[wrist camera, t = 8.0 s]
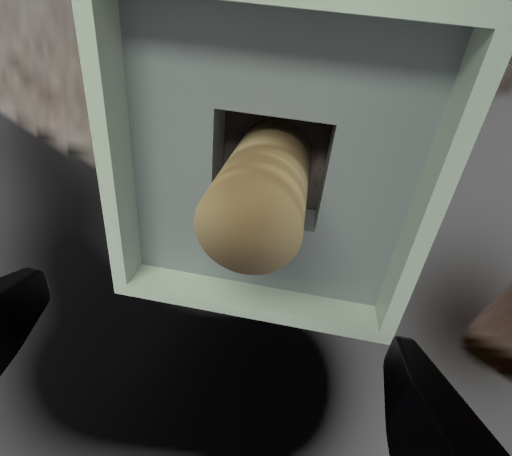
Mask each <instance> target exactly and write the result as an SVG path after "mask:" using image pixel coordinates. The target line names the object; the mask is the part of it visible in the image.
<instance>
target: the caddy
mask: <svg viewBox="0 0 512 456" xmlns="http://www.w3.org/2000/svg"><path fill="white" fill-rule="evenodd" d="M71 1H72V8H73V15H74V21H75V28H76V35H77V42H78V48H79V55H80V62H81V69H82V76H83V82H84V89H85V96H86V103H87V109H88V116H89V123H90V130H91V136H92V143H93V150H94V157H95V164H96V170H97V177H98V184H99V191H100V197H101V204H102V210H103V218H104V224H105V231H106V237H107V245H108V252H109V258H110V265H111V272H112V279H113V285H114V292H115V293H117V294H122V295H128V296H133V297H138V298H143V299H148V300H154V301H159V302H164V303H169V304H175V305H180V306H186V307H190V308H196V309H201V310H206V311H212V312H217V313H223V314H227V315H233V316H238V317H243V318H248V319H255V320H259V321H265V322H270V323H275V324H280V325H285V326H291V327H297V328H301V329H307V330H312V331H317V332H322V333H328V334H333V335H338V336H343V337H349V338H354V339H360V340H365V341H370V342H375V343H380V344H386V345H390V344H391V342H392V339H393V338H394V335H395V333H396V330H397V328H398V326H399V323H400V321H401V319H402V316H403V314H404V311H405V309H406V307H407V304H408V302H409V300H410V297H411V295H412V292H413V290H414V288H415V285H416V283H417V280H418V278H419V276H420V273H421V271H422V268H423V266H424V264H425V261H426V259H427V257H428V254H429V251H430V249H431V247H432V245H433V242H434V240H435V237H436V235H437V233H438V230H439V228H440V225H441V223H442V221H443V218H444V216H445V213H446V211H447V209H448V206H449V204H450V202H451V199H452V197H453V194H454V192H455V189H456V187H457V185H458V182H459V180H460V178H461V175H462V173H463V170H464V168H465V166H466V163H467V161H468V158H469V156H470V154H471V151H472V149H473V147H474V144H475V142H476V139H477V137H478V135H479V132H480V130H481V128H482V125H483V123H484V120H485V118H486V115H487V113H488V111H489V108H490V106H491V104H492V101H493V99H494V96H495V94H496V92H497V89H498V87H499V84H500V82H501V80H502V77H503V75H504V73H505V70H506V68H507V65H508V63H509V61H510V58H511V56H512V0H71ZM226 110H228V111H235V112H243V113H250V114H258V115H265V116H272V117H280V118H287V119H295V120H302V121H309V122H317V123H324V124H332V125H333V126H332V131H331V136H330V141H329V146H328V151H327V156H326V161H325V166H324V171H323V176H322V181H321V186H320V191H319V196H318V201H317V205H316V210H310V209H306V212H305V222H304V232H303V240H302V244H301V247H300V249H299V251H298V253H297V255H296V256H295V257H294V259H293V260H292V261H291V262H290V263H288V264H287V265H286V266H284V267H283V268H281V269H279V270H277V271H275V272H272V273H269V274H264V275H245V274H240V273H236V272H233V271H230V270H228V269H226V268H224V267H222V266H221V265H219V264H217V263H216V262H215V261H213V260H212V259H211V258H210V257H209V256H208V255H207V254H206V252H205V251H204V250H203V248H202V247H201V245H200V244H199V242H198V239H197V237H196V234H195V229H194V215H195V210H196V208H197V205H198V203H199V201H200V200H201V198H202V197H203V195H204V194H205V192H206V191H207V189H208V188H209V186H210V185H211V183H212V182H213V181H214V179H215V178H216V176H217V175H218V173H219V172H220V170H221V169H222V167H223V164H224V143H225V122H226Z"/></svg>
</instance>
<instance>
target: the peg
mask: <svg viewBox="0 0 512 456" xmlns="http://www.w3.org/2000/svg"><path fill="white" fill-rule="evenodd" d="M310 161H311V152H310V147H309V144H308V142H307V140H306V138H305V137H304V135H303V134H302V133H301V132H300V131H299V130H298V129H297V128H296V127H294V126H293V125H291V124H289V123H286V122H283V121H277V120H270V121H264V122H261V123H259V124H257V125H255V126H253V127H252V128H251V129H250V130H248V131H247V133H246V134H245V135H244V137H243V138H242V139H241V141H240V142H239V144H238V145H237V147H236V148H235V150H234V151H233V153H232V154H231V156H230V157H229V159H228V160H227V161H226V163H225V164H224V166H223V167H222V169H221V170H220V172H219V173H218V175H217V176H216V178H215V179H214V181H213V182H212V183H211V185H210V186H209V188H208V189H207V191H206V192H205V194H204V195H203V197H202V198H201V200H200V201H199V203H198V205H197V208H196V210H195V215H194V229H195V234H196V237H197V239H198V242H199V244H200V245H201V247H202V248H203V250H204V251H205V252H206V254H207V255H208V256H209V257H210V258H211V259H212V260H213V261H215V262H216V263H217V264H219V265H221V266H222V267H224V268H226V269H228V270H230V271H233V272H236V273H240V274H245V275H264V274H269V273H272V272H275V271H277V270H279V269H281V268H283V267H284V266H286V265H287V264H288V263H290V262H291V261H292V260H293V259H294V257H295V256H296V255H297V253H298V251H299V249H300V247H301V244H302V240H303V232H304V222H305V212H306V202H307V191H308V181H309V171H310Z"/></svg>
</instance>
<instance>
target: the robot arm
mask: <svg viewBox="0 0 512 456" xmlns="http://www.w3.org/2000/svg"><path fill="white" fill-rule="evenodd" d="M50 296H51V293H50V290H49V286H48V282H47V278H46V274H45V272H44V271H42V270H40V269H35V268H28V267H27V268H23V269H21V270H18V271H16V272H13V273H10V274H8V275H5V276H2V277H0V376H1V375H2V373H3V372H4V371H5V369H6V368H7V367H8V365H9V364H10V363H11V361H12V360H13V359H14V357H15V356H16V354H17V353H18V351H19V350H20V348H21V347H22V345H23V344H24V342H25V340H26V339H27V337H28V335H29V334H30V332H31V331H32V329H33V327H34V326H35V324H36V322H37V321H38V319H39V317H40V316H41V314H42V313H43V311H44V309H45V308H46V306H47V304H48V302H49V300H50ZM383 369H384V395H385V420H386V433H387V442H388V448H389V454H390V456H510V455H509V454H508V452H507V451H506V450H505V449H504V448H503V446H502V445H501V444H500V443H499V442H498V440H497V439H496V438H495V437H494V436H493V434H492V433H491V432H490V431H489V430H488V428H487V427H486V426H485V425H484V424H483V422H482V421H481V420H480V419H479V418H478V416H477V415H476V414H475V413H474V411H473V410H472V409H471V408H470V407H469V406H468V404H467V403H466V402H465V401H464V399H463V398H462V397H461V396H460V395H459V394H458V392H457V391H456V390H455V389H454V388H453V386H452V385H451V384H450V383H449V381H448V380H447V379H446V378H445V377H444V375H443V374H442V373H441V372H440V371H439V369H438V368H437V367H436V366H435V364H434V363H433V362H432V361H431V360H430V359H429V357H428V356H427V355H426V354H425V353H424V351H423V350H422V349H421V348H420V346H419V345H418V344H417V343H416V342H415V341H414V340H413V339H411V338H407V337H402V336H395V337H394V338H393V339H392V342H391V344H390V346H389V349H388V351H387V354H386V356H385V359H384V366H383Z"/></svg>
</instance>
